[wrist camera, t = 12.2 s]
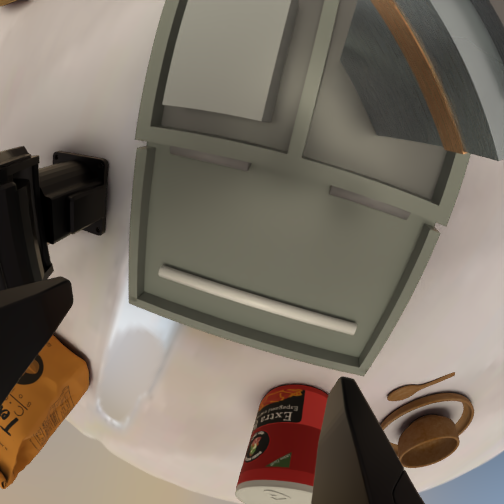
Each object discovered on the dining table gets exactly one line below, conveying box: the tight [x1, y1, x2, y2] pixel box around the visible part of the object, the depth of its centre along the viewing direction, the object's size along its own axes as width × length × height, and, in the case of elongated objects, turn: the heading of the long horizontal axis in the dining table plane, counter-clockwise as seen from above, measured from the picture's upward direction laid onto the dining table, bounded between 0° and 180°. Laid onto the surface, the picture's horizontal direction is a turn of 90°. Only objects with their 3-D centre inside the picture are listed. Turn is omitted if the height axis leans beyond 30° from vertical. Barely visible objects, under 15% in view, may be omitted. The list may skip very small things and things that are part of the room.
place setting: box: [380, 372, 474, 468], centre depth 25 cm, size 18×20×6 cm
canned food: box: [235, 385, 328, 504], centre depth 22 cm, size 8×8×11 cm
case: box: [129, 0, 471, 376], centre depth 17 cm, size 20×26×4 cm
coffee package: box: [0, 335, 89, 489], centre depth 24 cm, size 10×12×22 cm
